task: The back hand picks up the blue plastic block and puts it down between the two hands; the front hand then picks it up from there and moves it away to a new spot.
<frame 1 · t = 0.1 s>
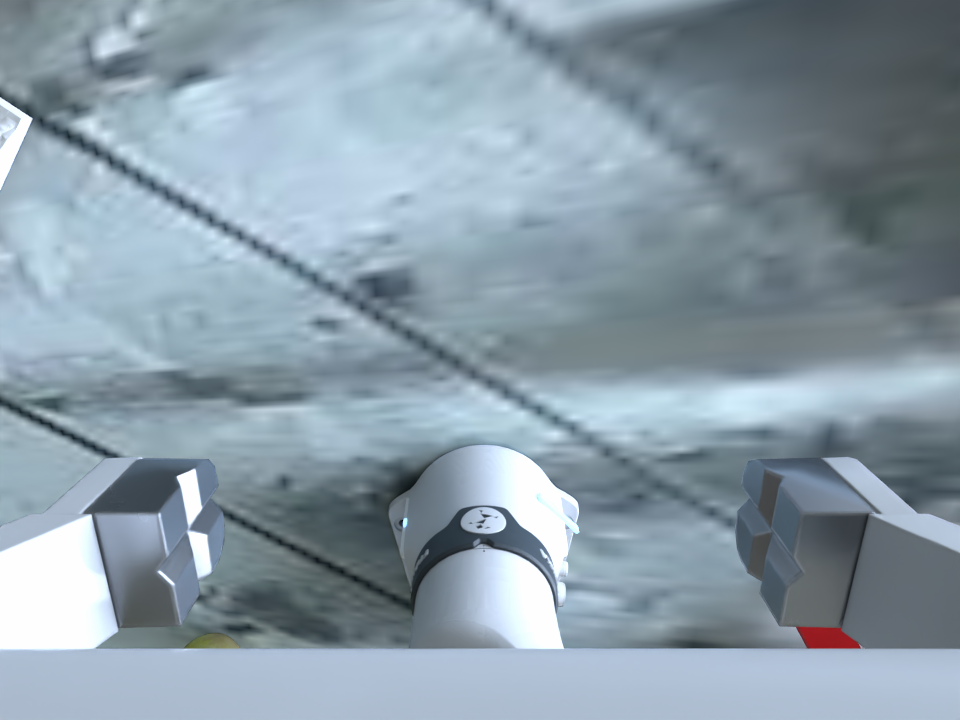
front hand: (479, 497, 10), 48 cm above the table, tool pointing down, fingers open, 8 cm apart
fruit: (225, 644, 72), on the table
red power drill: (824, 645, 72), on the table
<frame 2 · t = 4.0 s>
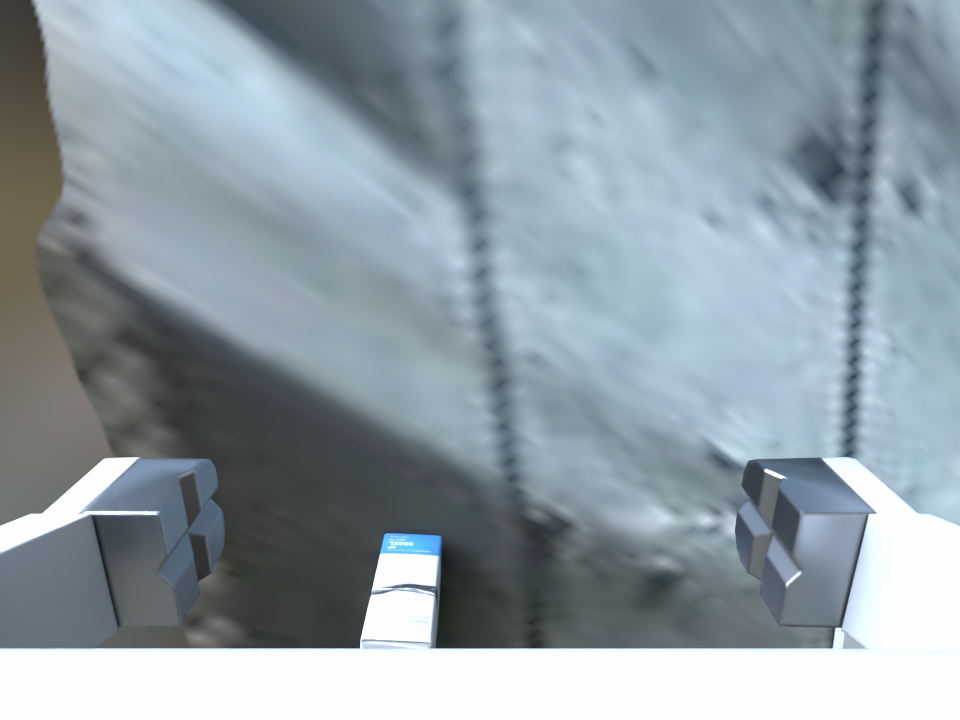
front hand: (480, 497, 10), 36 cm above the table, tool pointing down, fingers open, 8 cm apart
ink box: (411, 574, 55), on the table
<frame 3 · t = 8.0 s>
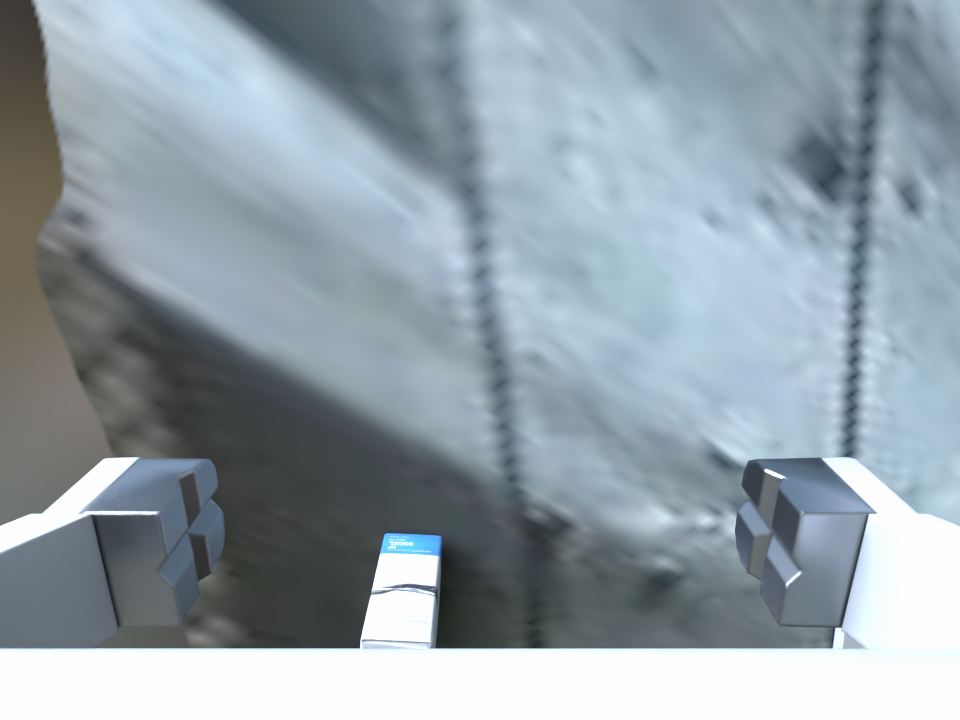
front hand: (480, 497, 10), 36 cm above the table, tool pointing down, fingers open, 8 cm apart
ink box: (411, 574, 55), on the table
when the back hand's fingers open (4 cm above the table, at t = 12.2 s): block drops 1 cm, on the table.
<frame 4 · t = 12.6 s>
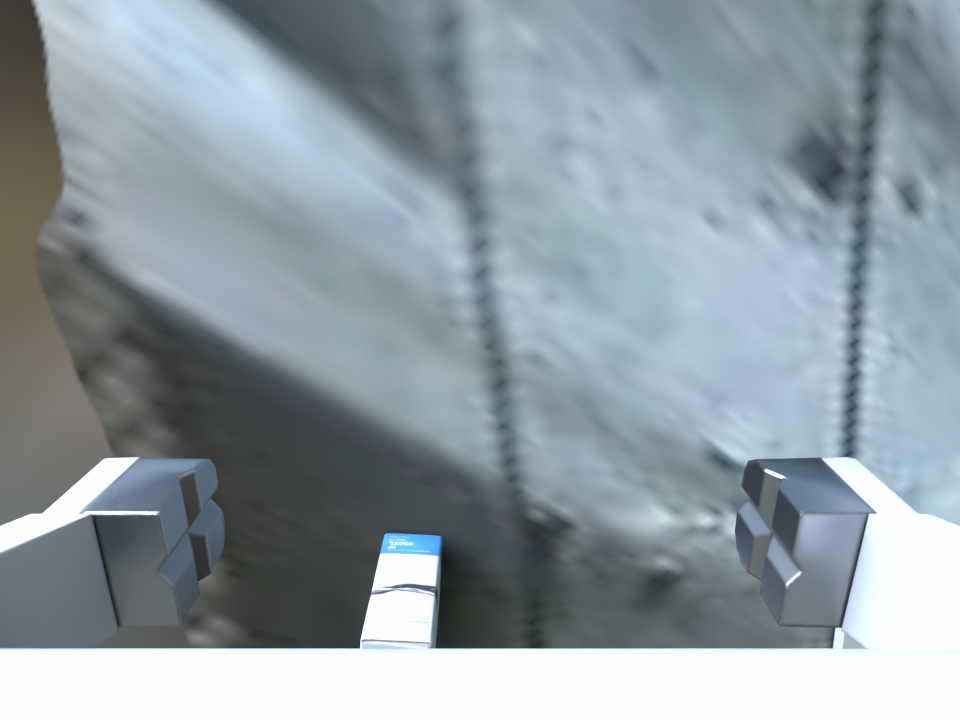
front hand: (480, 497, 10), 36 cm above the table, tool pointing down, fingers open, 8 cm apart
ink box: (411, 574, 55), on the table
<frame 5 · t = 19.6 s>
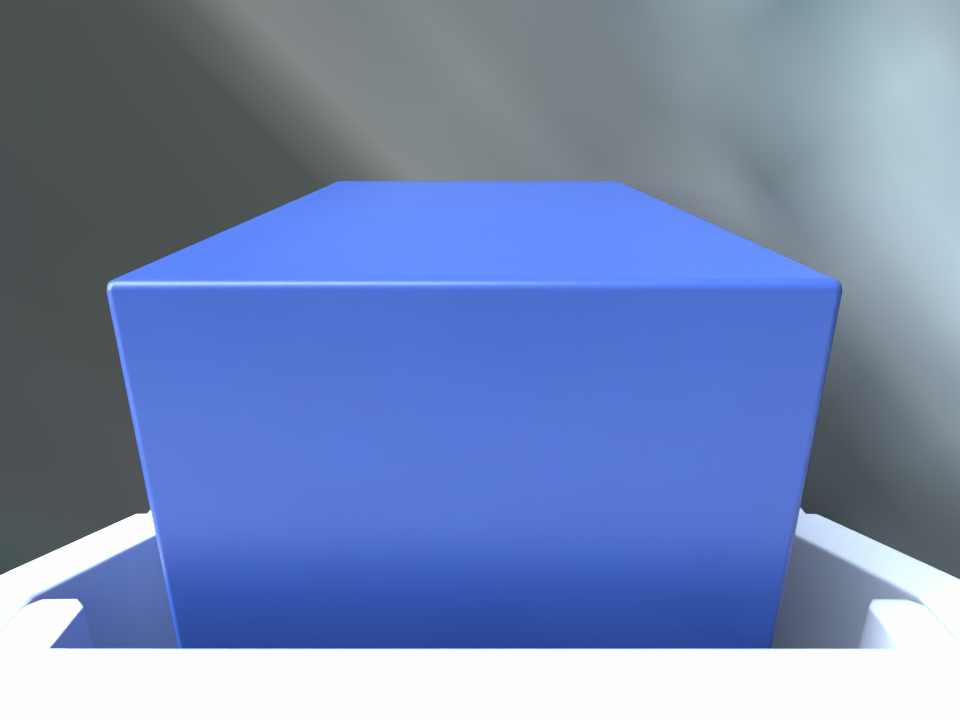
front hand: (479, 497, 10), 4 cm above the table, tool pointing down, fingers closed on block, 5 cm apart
block: (478, 385, 14), on the table, touching front hand
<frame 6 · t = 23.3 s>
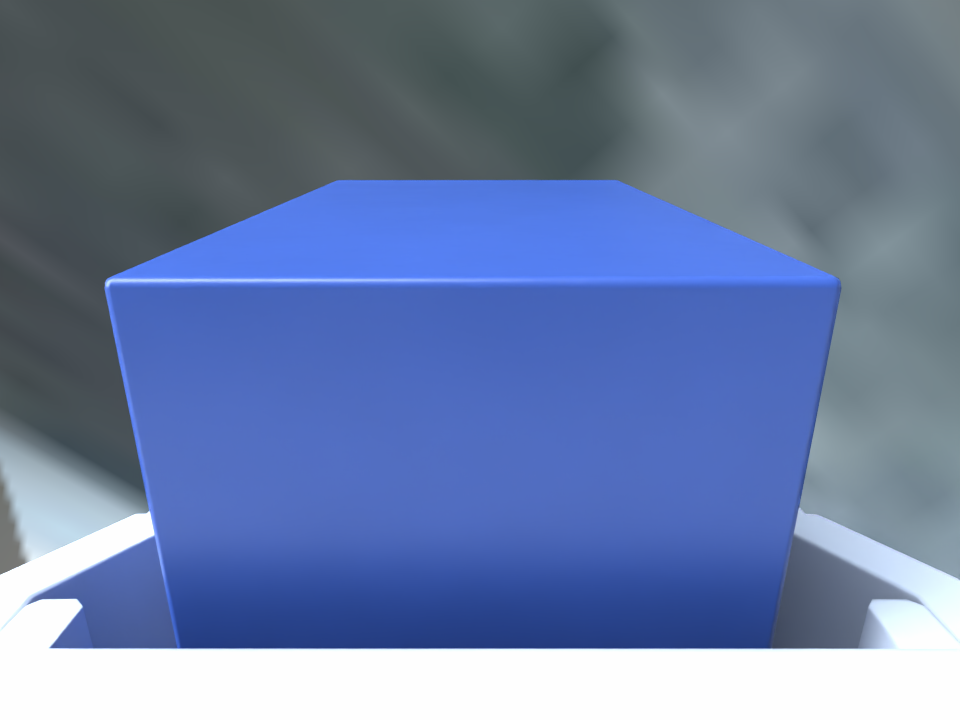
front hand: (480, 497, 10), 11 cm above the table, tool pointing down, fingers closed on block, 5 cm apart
block: (477, 384, 14), point 7 cm above the table, touching front hand
when the front hand's fingers open (5 cm above the table, at t = 27.0 s): block drops 1 cm, on the table.
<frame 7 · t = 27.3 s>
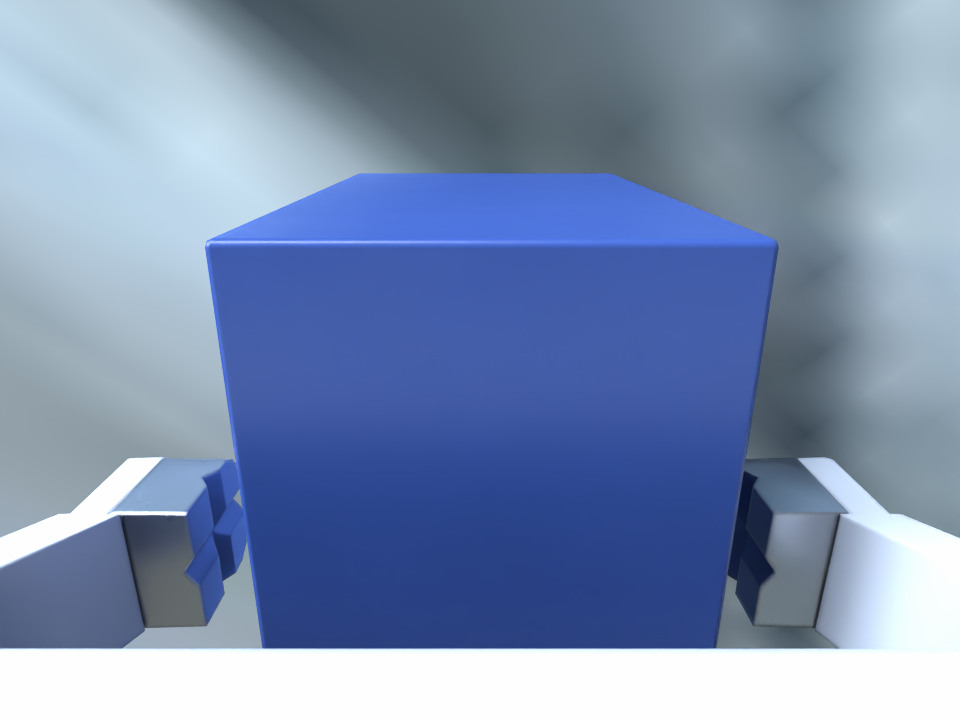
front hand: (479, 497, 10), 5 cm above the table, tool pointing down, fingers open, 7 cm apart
block: (484, 360, 15), on the table
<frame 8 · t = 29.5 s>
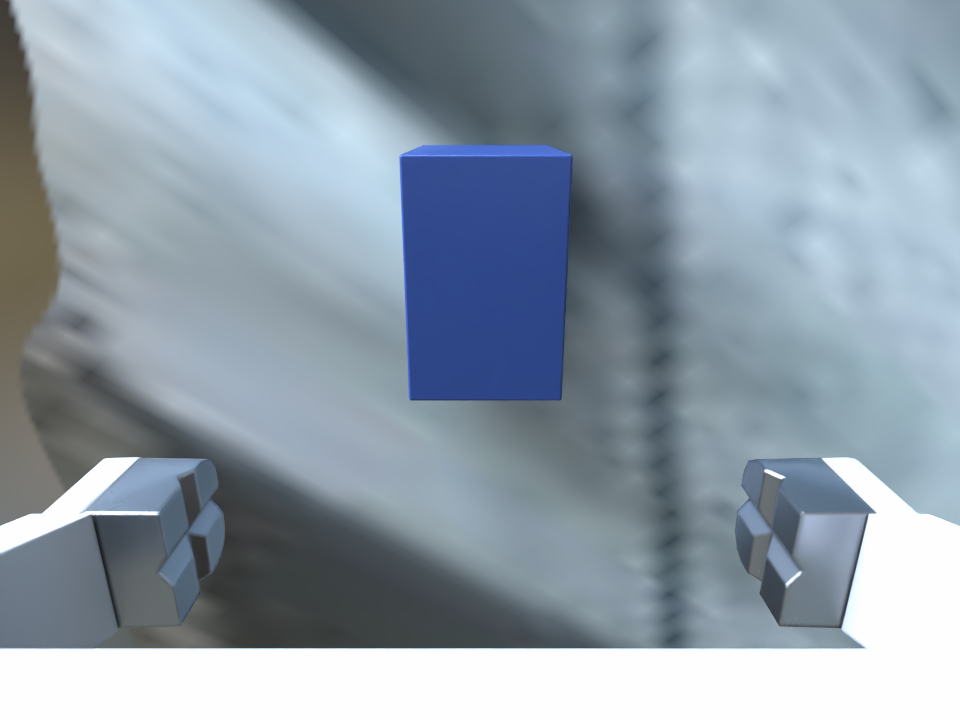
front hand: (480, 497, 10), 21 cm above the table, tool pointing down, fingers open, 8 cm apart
block: (484, 242, 29), on the table
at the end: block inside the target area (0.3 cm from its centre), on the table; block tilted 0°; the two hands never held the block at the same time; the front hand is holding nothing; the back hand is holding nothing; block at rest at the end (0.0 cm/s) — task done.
